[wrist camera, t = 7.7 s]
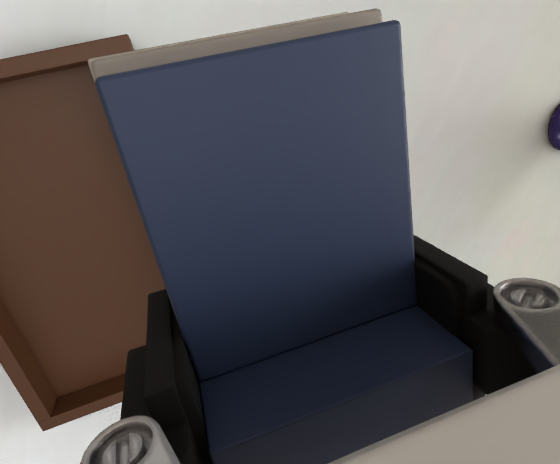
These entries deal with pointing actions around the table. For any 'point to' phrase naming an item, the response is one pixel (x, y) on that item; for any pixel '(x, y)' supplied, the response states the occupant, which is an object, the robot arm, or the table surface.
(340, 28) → the blue stair step block
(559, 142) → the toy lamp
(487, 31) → the table surface
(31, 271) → the tray
